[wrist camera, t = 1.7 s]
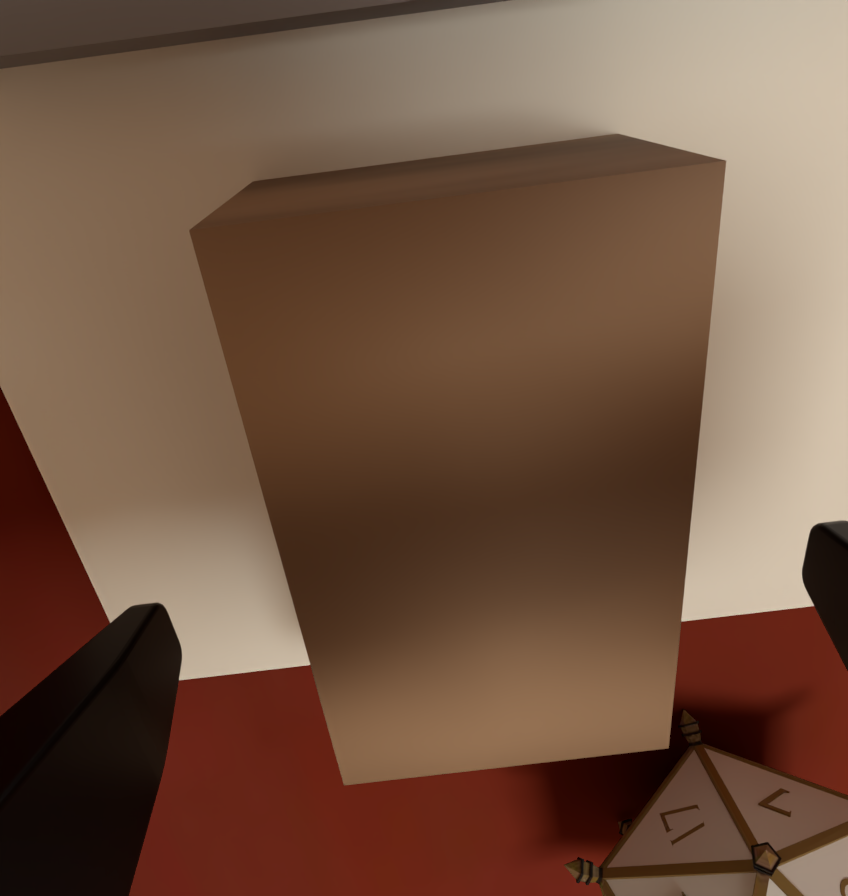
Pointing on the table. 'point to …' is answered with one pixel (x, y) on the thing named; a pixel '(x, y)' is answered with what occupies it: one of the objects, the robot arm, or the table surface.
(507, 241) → the card box
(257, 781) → the table surface
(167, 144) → the mat
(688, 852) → the game die
